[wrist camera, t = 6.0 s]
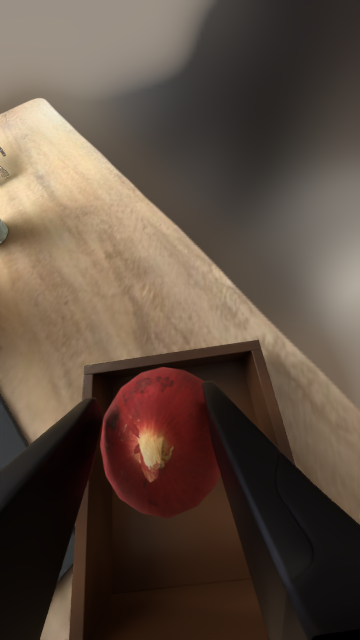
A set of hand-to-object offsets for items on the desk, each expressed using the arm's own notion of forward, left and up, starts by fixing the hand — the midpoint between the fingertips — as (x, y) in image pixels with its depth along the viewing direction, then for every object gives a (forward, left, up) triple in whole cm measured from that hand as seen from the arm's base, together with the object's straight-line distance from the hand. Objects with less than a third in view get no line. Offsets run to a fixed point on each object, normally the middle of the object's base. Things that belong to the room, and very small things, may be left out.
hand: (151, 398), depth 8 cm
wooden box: (-5, +1, -12) cm, 13 cm away
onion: (-1, 0, -6) cm, 7 cm away
